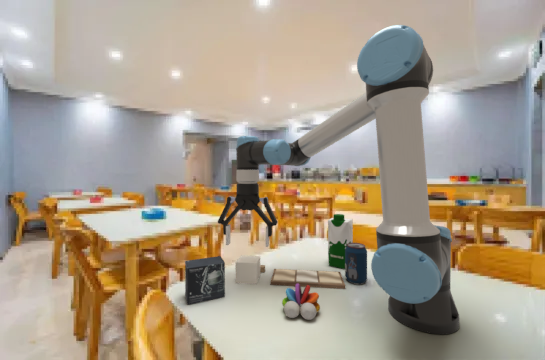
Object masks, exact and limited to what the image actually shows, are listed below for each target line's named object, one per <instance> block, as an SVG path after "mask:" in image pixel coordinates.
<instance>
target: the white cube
mask: <svg viewBox="0 0 545 360" xmlns="http://www.w3.org/2000/svg"><path fill="white" fill-rule="evenodd" d="M260 265H261V256H260V255H242V254H241V255H240V256H239V257H238V258H237V259H236V261H235V284H241V285H242V284H243V285H244V284H245V285H246V284H247V285H257V284H258V283H259V279H260V278H261V272H260Z"/></svg>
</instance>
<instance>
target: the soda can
mask: <svg viewBox="0 0 545 360" xmlns="http://www.w3.org/2000/svg"><path fill="white" fill-rule="evenodd" d="M344 276H345V278H346V281H347V282H349V283H351V284H354V285H363V284H365V283H366V281H367V280H368V250H367V248H366V245H365V244H364V243H360V242H353V243H348V244H347V247H346V249H345V269H344Z"/></svg>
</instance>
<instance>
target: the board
mask: <svg viewBox="0 0 545 360" xmlns="http://www.w3.org/2000/svg"><path fill="white" fill-rule="evenodd" d="M269 283H270V286H285V287H287V286H288V287H295V285H296V284H297V283H298V284H300V287H301V288H302V287H303V288H305V287H306V286H307V285H309V286H310V288H319V289H320V288H321V289H322V288H325V289H326V288H327V289H340V290H341V289H342V290H344V289H345V290H346V284H345V281H344V278H343V276H342V274H341V271H337V270H335V271H333V270H313V269H312V270H309V269H287V268H274V269H273V272H272V274H271V278H270V282H269Z"/></svg>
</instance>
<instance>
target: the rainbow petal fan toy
mask: <svg viewBox="0 0 545 360" xmlns="http://www.w3.org/2000/svg"><path fill="white" fill-rule="evenodd" d="M294 287H295V288H294V289H293V288H291V287H288V288H286V289H285V294H286V297H284V298H283V299H282V302H281V304H282V306H283V312H284V314H285V315H286V317H288V318H290V319H295V318H297V317H299V315H301V316H302V318H303V319H305V320H307V321H311V320H314V318H316V317H317V316H316V315H317V313H319V311H320V309H321V306H320V304H319V302H318V300H319V297H320V295H319V293H318V292H315V291H314V292H310V290H311V287H310V286H309V285H307V286H306V287H304V289H303V291H302V287H301V286H300V284H298V283H297V284H296V285H295V286H294Z"/></svg>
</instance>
